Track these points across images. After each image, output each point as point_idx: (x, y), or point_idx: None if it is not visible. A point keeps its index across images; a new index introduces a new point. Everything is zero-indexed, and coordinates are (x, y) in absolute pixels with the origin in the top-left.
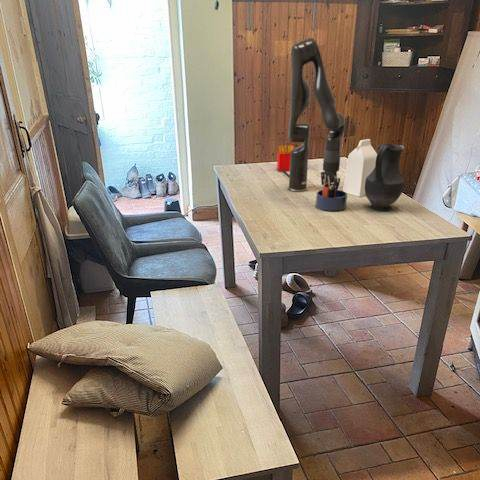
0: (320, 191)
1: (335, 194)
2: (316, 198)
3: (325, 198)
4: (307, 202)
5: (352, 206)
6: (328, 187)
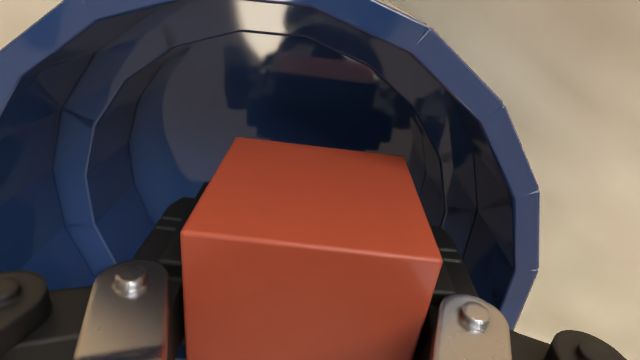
0: (508, 206)
1: None
2: (393, 6)
3: (61, 11)
4: (619, 20)
5: None
6: (323, 336)
